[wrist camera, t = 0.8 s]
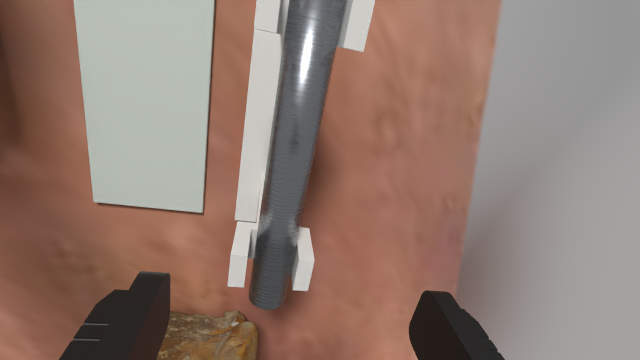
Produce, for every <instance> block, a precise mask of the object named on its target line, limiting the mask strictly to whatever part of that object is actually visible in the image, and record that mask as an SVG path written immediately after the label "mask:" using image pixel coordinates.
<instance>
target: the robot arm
mask: <svg viewBox="0 0 640 360" xmlns="http://www.w3.org/2000/svg"><path fill="white" fill-rule="evenodd" d="M169 317H170V274H169V273H159V272H144V271H141V272H140V273H139V274H138V275H137V277H136V278H135V280H134V282H133V284H132V285H131V287H130V289H129V290H114V291H112V292H111V293H110V294H109V295H107V296H106V297H105V298H103V299H102V300H101V301H100V302H98V303H97V304H96V305H95V307H94V308H93V310H92V311H91V313H90V314H89V316H88V317H87V319H86V320H85V322H84V325H83V326H81V328H80V329H79V331H78V332H77V333H76V335H75V336H74V340H73V341H71V342H70V344H69V345H68V347H67V348H66V350H65V351H64V353H63V354H62V356H61V357H60V359H59V360H156V358H157V356H158V353H159V350H160V348H161V345H162V342H163V340H164V337H165V334H166V331H167V327H168V323H169ZM409 337H410V342H411V344H412V347H413V349H414V351H415V353H416V356H417V358H418V360H505V359H504V358H503V357H502V355H501V354H500V353H498V352H497V348H496V347H495V345H494V344H493V342H492V341H491V340H489V338H488V336H487V334H486V333H485V331H484V330H483V328H482V327H481V326H480V324H479V323H478V322H477V321H476V320H475V319H474V318H473V317H472V316H471V315H470V314H469V313H467V312H466V311H465V310H464V309H461V308H460V307H459V305H458V304H457V302H456V301H455V299H454V298H453V296H452V295H451V294H450V293H448V292H442V291H424V292H423V293H422V295H421V298H420V300H419V302H418V305H417V307H416V310H415V312H414V314H413V317H412V319H411V321H410V325H409Z"/></svg>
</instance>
